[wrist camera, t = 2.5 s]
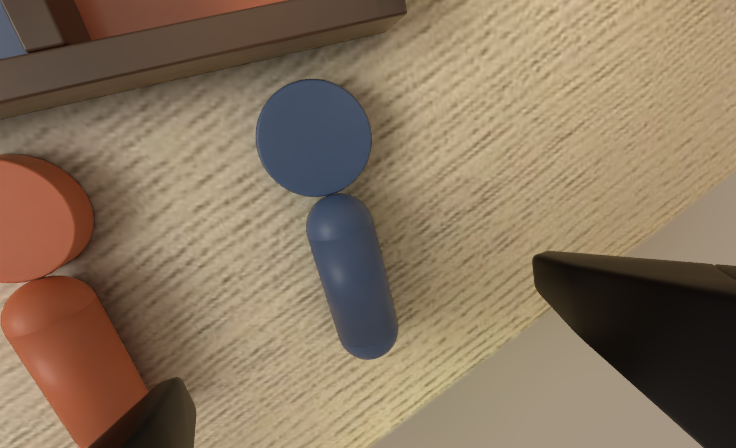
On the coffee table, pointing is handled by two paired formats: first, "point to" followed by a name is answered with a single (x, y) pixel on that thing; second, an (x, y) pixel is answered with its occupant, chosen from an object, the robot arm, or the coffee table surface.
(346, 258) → the blue spoon
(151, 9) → the cutlery tray
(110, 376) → the terracotta spoon
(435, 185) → the coffee table surface
